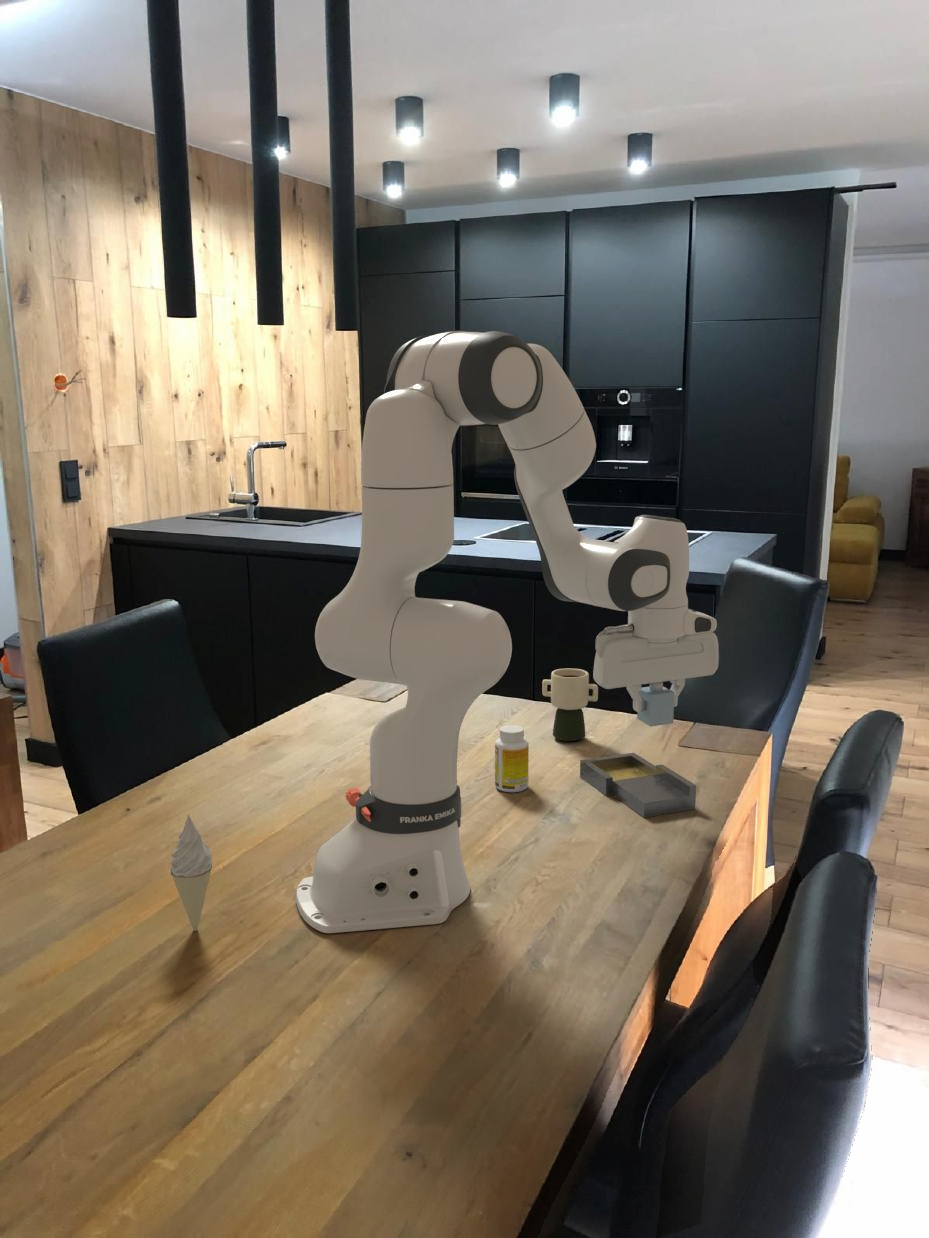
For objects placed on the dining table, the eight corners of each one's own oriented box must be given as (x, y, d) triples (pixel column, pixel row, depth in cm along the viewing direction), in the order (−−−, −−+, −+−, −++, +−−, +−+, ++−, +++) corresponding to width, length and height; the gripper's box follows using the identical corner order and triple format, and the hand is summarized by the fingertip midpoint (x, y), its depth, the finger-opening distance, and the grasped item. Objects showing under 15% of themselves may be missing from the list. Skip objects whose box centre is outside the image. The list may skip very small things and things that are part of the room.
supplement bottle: (535, 788, 166) (535, 729, 163) (510, 796, 162) (510, 736, 160) (512, 778, 170) (513, 721, 168) (487, 786, 166) (487, 728, 164)
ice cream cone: (196, 944, 118) (188, 825, 114) (164, 934, 120) (156, 817, 117) (225, 925, 122) (218, 810, 119) (194, 915, 124) (187, 802, 121)
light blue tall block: (650, 726, 152) (651, 685, 150) (637, 718, 156) (638, 678, 154) (673, 723, 153) (674, 682, 152) (659, 715, 157) (661, 675, 155)
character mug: (601, 736, 191) (603, 670, 189) (591, 747, 185) (593, 680, 182) (547, 729, 195) (548, 665, 193) (535, 740, 189) (536, 674, 186)
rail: (636, 818, 153) (637, 794, 152) (580, 776, 170) (580, 754, 170) (695, 809, 156) (696, 785, 156) (633, 768, 174) (634, 747, 173)
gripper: (606, 633, 145) (605, 723, 148) (726, 619, 151) (722, 705, 155) (586, 623, 150) (585, 710, 154) (702, 610, 157) (699, 694, 160)
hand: (655, 708), depth 154 cm, fingers closed on light blue tall block, 4 cm apart
